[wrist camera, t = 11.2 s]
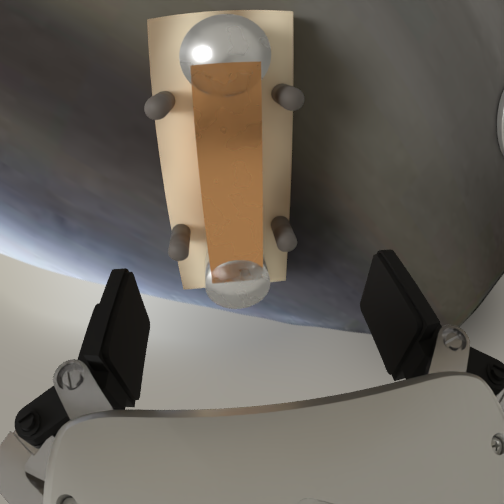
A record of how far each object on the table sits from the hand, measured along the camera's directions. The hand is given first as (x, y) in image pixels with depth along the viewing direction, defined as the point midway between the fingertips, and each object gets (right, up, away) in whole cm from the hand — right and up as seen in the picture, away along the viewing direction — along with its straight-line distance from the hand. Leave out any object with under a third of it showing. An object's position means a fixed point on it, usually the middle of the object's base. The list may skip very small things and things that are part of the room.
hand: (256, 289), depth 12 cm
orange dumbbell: (-2, +8, +11) cm, 14 cm away
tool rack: (-2, +9, +13) cm, 16 cm away
